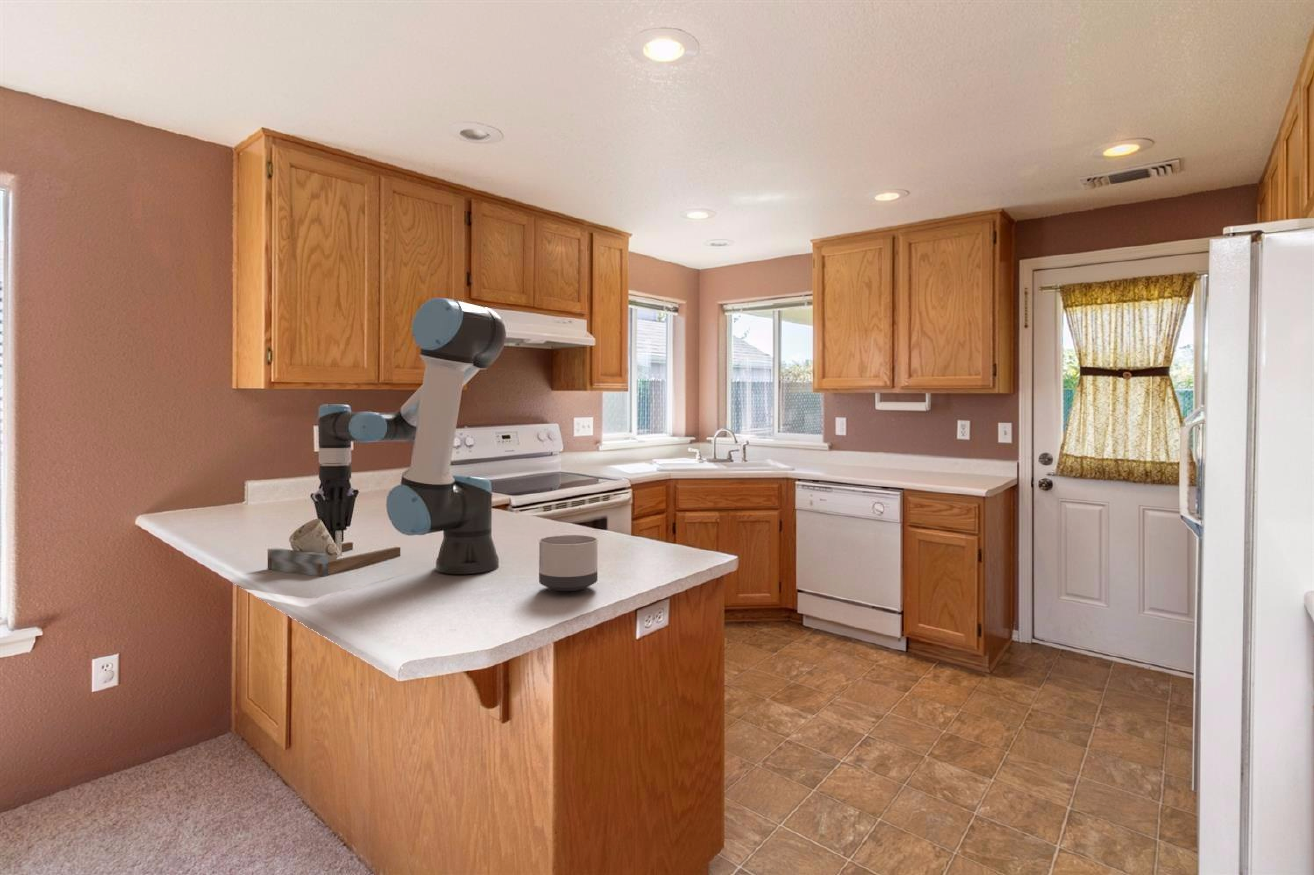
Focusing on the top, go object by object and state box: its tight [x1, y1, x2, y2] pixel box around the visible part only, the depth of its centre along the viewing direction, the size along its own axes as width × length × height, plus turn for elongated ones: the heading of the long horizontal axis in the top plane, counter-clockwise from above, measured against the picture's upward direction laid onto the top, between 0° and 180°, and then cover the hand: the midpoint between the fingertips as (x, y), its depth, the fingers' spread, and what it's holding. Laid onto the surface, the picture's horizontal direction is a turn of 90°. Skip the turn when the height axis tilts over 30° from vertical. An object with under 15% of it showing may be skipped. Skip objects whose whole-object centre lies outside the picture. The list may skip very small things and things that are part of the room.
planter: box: [538, 534, 599, 592], centre depth 146 cm, size 13×13×10 cm
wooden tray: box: [267, 541, 401, 577], centre depth 170 cm, size 19×24×5 cm
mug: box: [288, 518, 340, 561], centre depth 165 cm, size 8×13×10 cm
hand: (335, 555), depth 170 cm, fingers closed
